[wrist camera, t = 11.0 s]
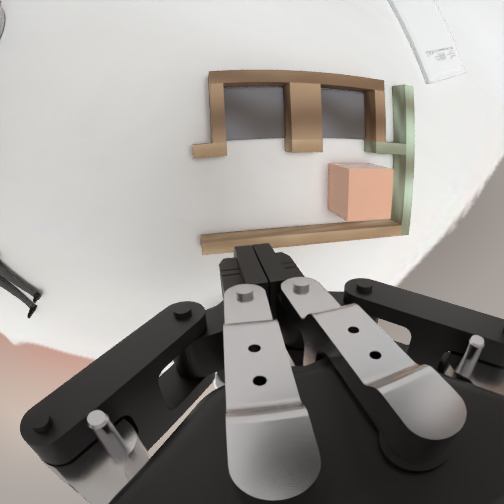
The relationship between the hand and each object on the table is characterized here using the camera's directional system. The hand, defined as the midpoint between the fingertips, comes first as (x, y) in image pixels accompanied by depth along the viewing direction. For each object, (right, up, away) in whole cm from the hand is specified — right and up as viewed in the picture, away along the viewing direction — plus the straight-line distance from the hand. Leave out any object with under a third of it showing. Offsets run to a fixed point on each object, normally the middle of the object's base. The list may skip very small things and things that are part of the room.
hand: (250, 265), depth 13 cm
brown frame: (+6, +10, +17) cm, 20 cm away
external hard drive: (+22, +28, +13) cm, 38 cm away
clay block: (+11, +8, +18) cm, 23 cm away
